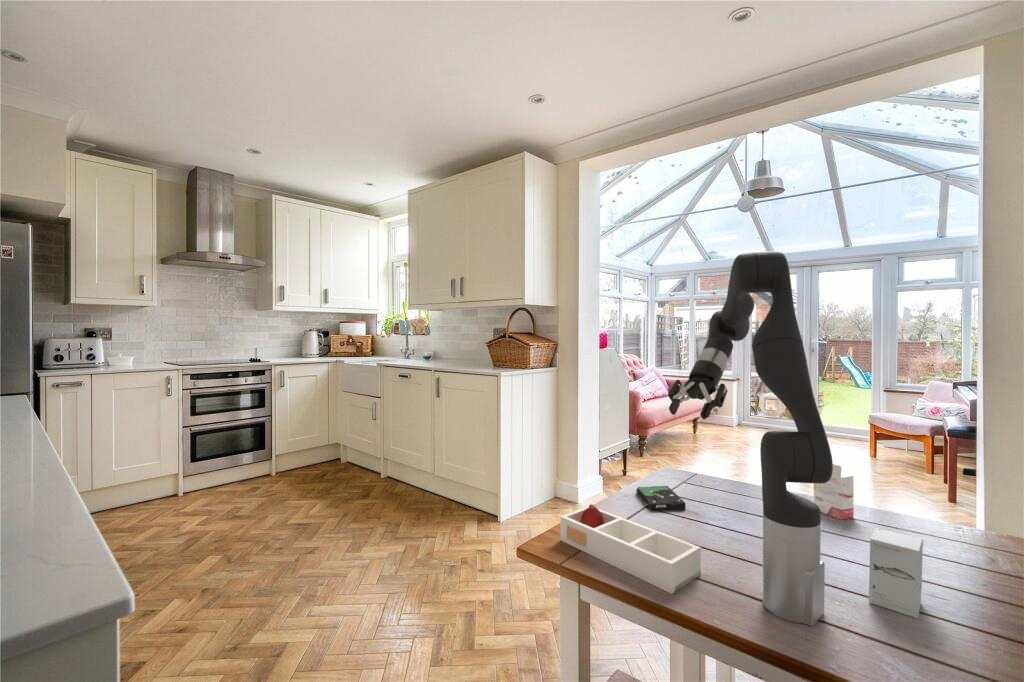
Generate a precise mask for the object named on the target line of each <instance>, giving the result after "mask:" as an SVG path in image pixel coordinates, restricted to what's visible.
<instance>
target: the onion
mask: <svg viewBox="0 0 1024 682" xmlns="http://www.w3.org/2000/svg"><path fill="white" fill-rule="evenodd" d="M588 506H589V508H587V509H585V510H584V512H583V513H582V515H581V520H580V522H581V523H582V524H585V525H587V526H589V527H592V528H596V527H598V526H601V525H603V524H604V518H603V515H602V513H601V512H600V511H599V510H598V509H599V508H598V507H596V506H595V505H594V504H593V503H590V504H589V505H588Z"/></svg>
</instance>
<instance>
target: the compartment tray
mask: <svg viewBox="0 0 1024 682" xmlns="http://www.w3.org/2000/svg"><path fill="white" fill-rule="evenodd" d="M587 508H589V505H588V506H585V507H582V508H579V509H577V510H575V511H571V512H570V513H566V514H563V515H561V516H560V520H559V521H560V524H559V525H560V541H561V542H563V543H565V544H567V545H570V546H572V547H573V548H575V549H578V550H580V551H582V552H584V553H586V554H589V555H590V556H593V557H595V558H597V559H599V560H601V561H603V562H605V563H606V564H609V565H611V566H613V567H615V568H617V569H619V570H621V571H623V572H625V573H627V574H630V575H632V576H634V577H636V578H638V579H641V580H642V581H644V582H646V583H649V584H651V585H653V586H655V587H656V588H658V589H661V590H663V591H665V592H667V593H668V594H671V595H673V594H674V593H676V592H677V591H679V590H681V589H682V588H683V587H684V586H686V585H688V584H690V583H691V582H692V581H694V580H695V579H697V578H698V577H700V576H701V574H702V571H701V567H702V566H701V563H702V558H701V553H702V552H701V551H702V550H701V549H702V547H701V546H698V545H696V544H694V543H693V544H692V543H691V542H688V541H686V540H682V539H679V538H677V537H674V536H672V535H669V534H666V533H663V532H661V531H658V530H656V529H653V528H650V527H647V526H645V525H642V524H640V523H637V522H634V521H632V520H630V519H626V518H624V517H621V516H619V515H615V514H613V513H611V512H608V511H606V510H603V509H600V508H597V509H598V510H599V511H600V512H601V513H602V515H603V518H604V524H603V525H601V526H598V527H596V528H592V527H589V526H587V525H585V524H582V523H581V522H580V520H581V515H582V513H583V512H584V510H585V509H587Z"/></svg>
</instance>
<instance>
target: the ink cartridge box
mask: <svg viewBox="0 0 1024 682" xmlns="http://www.w3.org/2000/svg"><path fill="white" fill-rule="evenodd" d="M842 469H843V468H842V466H841V465H838V464H834V463H833V471H832V476H831V478H830V480H829V481H828V482H826V483H820V484H816V483H813V503H815V504H816V505H817V506H818V507H819V508H820V511H821V513H822V514H826V515H828V516H830V517H834V518H835V519H839V520H848V519H853V518H854V517H855V516H854V504H855V503H854V475H851V474H848V473H844V472H842Z"/></svg>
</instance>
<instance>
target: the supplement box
mask: <svg viewBox="0 0 1024 682" xmlns="http://www.w3.org/2000/svg"><path fill="white" fill-rule="evenodd" d="M869 541H870V542H869V572H868V573H869V577H868V578H869V580H868V581H869V582H868V583H869V584H868V604H871V605H877V606H880V607H882V608H885V609H889V610H892V611H894V612H897V613H900V614H904V615H906V616H909V617H911V618H915V619H919V615H920V609H921V605H922V604H921V603H922V589H923V588H922V585H923V548H924V539H923V538H921V537H916V536H912V535H907V534H903V533H899V532H895V531H891V530H887V529H882V528H878V527H874V530H873V532H872V534H871V537H870V539H869Z"/></svg>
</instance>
